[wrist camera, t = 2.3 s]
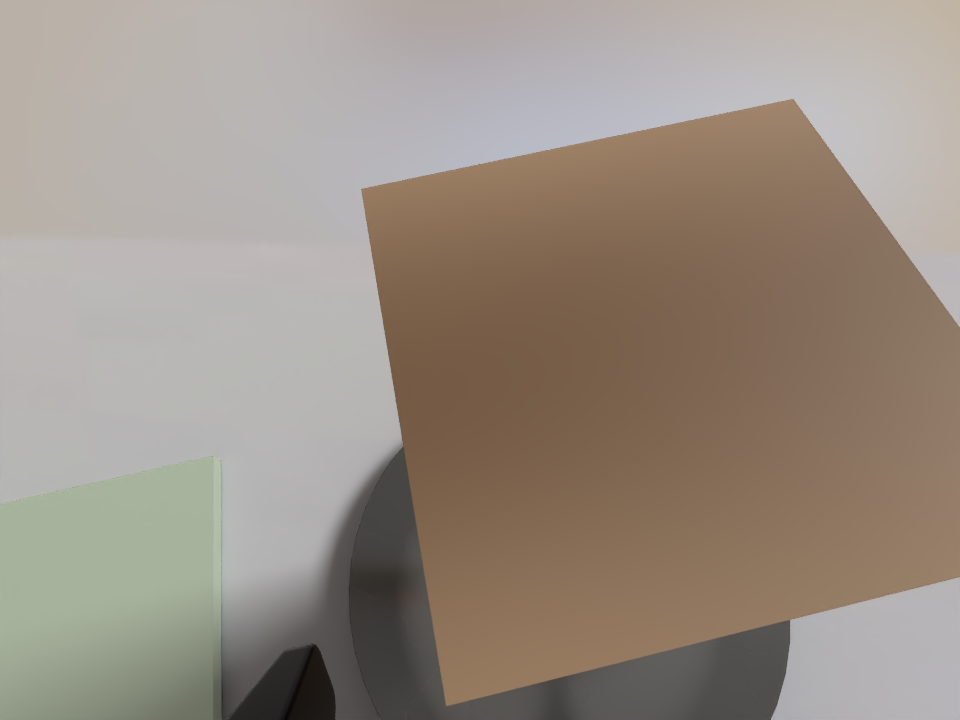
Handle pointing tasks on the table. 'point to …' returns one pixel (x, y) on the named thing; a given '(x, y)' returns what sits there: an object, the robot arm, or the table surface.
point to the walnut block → (660, 395)
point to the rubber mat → (114, 599)
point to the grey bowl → (546, 705)
